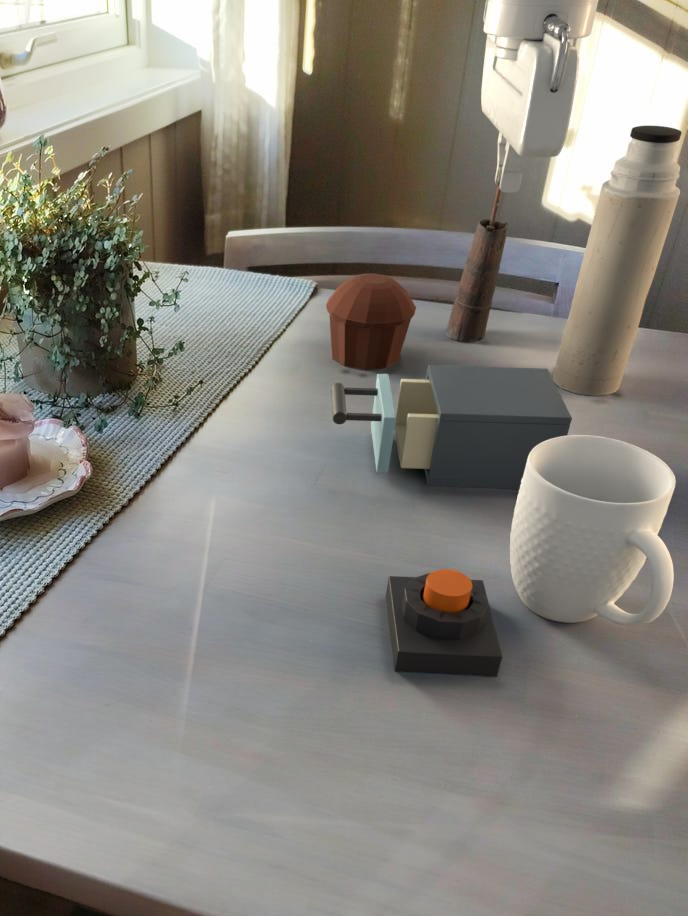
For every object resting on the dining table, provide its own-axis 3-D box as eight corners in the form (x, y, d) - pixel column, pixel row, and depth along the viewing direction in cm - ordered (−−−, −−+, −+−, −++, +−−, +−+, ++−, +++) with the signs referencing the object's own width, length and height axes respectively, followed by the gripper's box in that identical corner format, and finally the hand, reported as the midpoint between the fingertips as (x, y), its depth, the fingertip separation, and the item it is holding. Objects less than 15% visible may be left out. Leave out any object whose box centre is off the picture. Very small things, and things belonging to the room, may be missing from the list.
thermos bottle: (613, 370, 114) (688, 121, 96) (625, 398, 108) (708, 137, 90) (548, 367, 115) (611, 119, 97) (556, 393, 109) (625, 135, 91)
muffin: (312, 342, 122) (318, 266, 115) (390, 336, 123) (400, 260, 117) (337, 378, 113) (345, 298, 106) (421, 371, 114) (433, 292, 108)
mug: (689, 648, 73) (752, 511, 65) (582, 685, 70) (634, 546, 61) (565, 552, 83) (606, 423, 75) (467, 580, 80) (498, 449, 72)
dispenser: (427, 485, 93) (440, 413, 87) (416, 433, 102) (428, 364, 96) (551, 490, 92) (572, 417, 87) (530, 437, 101) (547, 368, 96)
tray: (329, 471, 93) (334, 415, 89) (326, 425, 101) (331, 372, 97) (488, 477, 92) (501, 421, 88) (474, 430, 100) (485, 376, 96)
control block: (478, 600, 78) (487, 562, 75) (497, 677, 70) (508, 639, 68) (385, 595, 78) (391, 558, 76) (394, 672, 71) (401, 633, 68)
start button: (465, 587, 73) (469, 570, 72) (471, 614, 71) (475, 597, 69) (420, 585, 74) (424, 568, 72) (425, 612, 71) (428, 595, 70)
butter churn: (484, 358, 117) (534, 114, 99) (418, 341, 122) (454, 104, 104) (512, 336, 123) (564, 101, 105) (448, 320, 127) (487, 93, 109)
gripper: (613, 24, 67) (566, 221, 76) (552, -3, 82) (519, 163, 91) (527, 24, 67) (490, 220, 76) (482, -3, 83) (456, 162, 92)
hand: (506, 188), depth 84 cm, fingers closed
